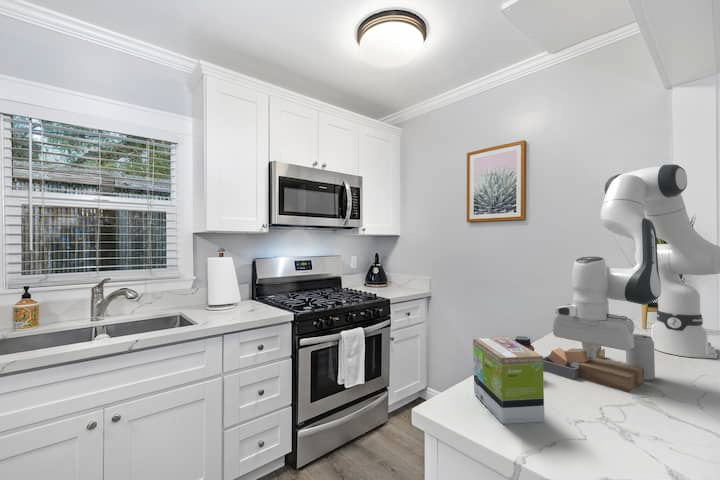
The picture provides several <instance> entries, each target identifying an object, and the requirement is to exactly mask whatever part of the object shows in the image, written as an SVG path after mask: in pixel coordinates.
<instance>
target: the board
mask: <svg viewBox="0 0 720 480" xmlns="http://www.w3.org/2000/svg"><path fill="white" fill-rule="evenodd" d="M578 366H579V378H578V379H580V380H582V381H583V380H584V381H587V382H592V383H595V384H597V385H600V386H605V387H607V388H611V389H615V390H619V391H622V392H625V393H628V394H630V393H632V392H633V391H634V390H636V389H638V388H639V387H640V386H642V385H643V384H644V383H645V380H644V369H643V368H639V367H634V366H630V365H626V364H625V363H621V362H617V361H613V360H608V359H605V358H603V359H601V358H596V359H591V360H589V361H586V362H582V363H580V364H578Z"/></svg>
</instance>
